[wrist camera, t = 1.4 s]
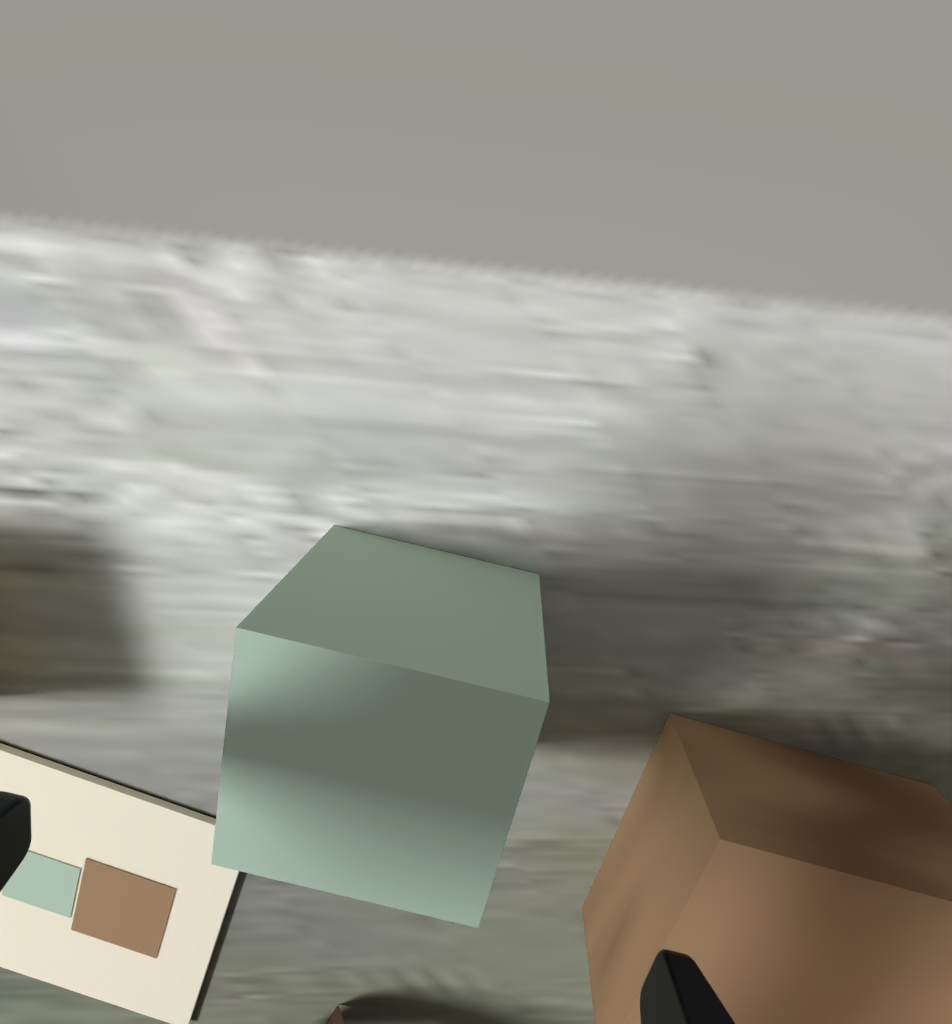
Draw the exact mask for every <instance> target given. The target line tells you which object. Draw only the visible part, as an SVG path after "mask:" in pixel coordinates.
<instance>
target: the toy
mask: <svg viewBox="0 0 952 1024" xmlns="http://www.w3.org/2000/svg"><path fill="white" fill-rule="evenodd" d="M326 1024H345V1023H344V1020H343V1017H342V1014H341V1012H340V1009H339V1006H337V1007H336V1009H335V1010H334V1012H333V1014H332V1015H331V1017H330V1018H329V1020H328V1022H327V1023H326Z"/></svg>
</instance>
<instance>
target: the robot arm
mask: <svg viewBox="0 0 952 1024" xmlns="http://www.w3.org/2000/svg"><path fill="white" fill-rule="evenodd" d="M31 838H32V834H31V803H30V800H29V799H28V798H27V797H26V796H22V795H18V794H14V793H10V792H6V791H0V892H1V890H2V889H3V888H4V886H5V885H6V883H7V882H8V881H9V879H10V878H11V876H12V875H13V874H14V872H15V871H16V869H17V868H18V867H19V865H20V864H21V862H22V861H23V859H24V858H25V856H26V854H27V852H28V850H29V847H30V844H31ZM640 1018H641V1024H735V1022H734V1021H733V1019H732V1018H731V1016H730V1015H729V1013H728V1011H727V1010H726V1008H725V1007H724V1005H723V1004H722V1002H721V1001H720V999H719V998H718V996H717V995H716V993H715V991H714V990H713V988H712V987H711V985H710V984H709V982H708V981H707V979H706V978H705V976H704V975H703V973H702V971H701V970H700V968H699V967H698V965H697V964H696V962H695V961H694V960H693V959H692V958H691V957H690V956H689V955H687V954H684V953H680V952H676V951H672V950H667V949H662V950H660V951H659V952H658V953H657V955H656V957H655V959H654V961H653V964H652V966H651V968H650V970H649V972H648V975H647V977H646V979H645V981H644V983H643V986H642V989H641V994H640Z"/></svg>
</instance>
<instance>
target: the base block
mask: <svg viewBox="0 0 952 1024" xmlns="http://www.w3.org/2000/svg"><path fill="white" fill-rule="evenodd" d="M582 911H583V920H584V929H585V937H586V946H587V955H588V964H589V973H590V982H591V990H592V999H593V1008H594V1017H595V1024H641V1018H640V994H641V989H642V986H643V983H644V981H645V979H646V977H647V975H648V972H649V970H650V968H651V966H652V964H653V961H654V959H655V957H656V955H657V953H658V952H659V951H660V950H662V949H667V950H672V951H676V952H680V953H684V954H687V955H689V956H690V957H691V958H692V959H693V960H694V961H695V962H696V964H697V965H698V967H699V968H700V970H701V971H702V973H703V975H704V976H705V978H706V979H707V981H708V982H709V984H710V985H711V987H712V988H713V990H714V991H715V993H716V995H717V996H718V998H719V999H720V1001H721V1002H722V1004H723V1005H724V1007H725V1008H726V1010H727V1011H728V1013H729V1015H730V1016H731V1018H732V1019H733V1021H734V1022H735V1024H952V805H951V804H950V803H949V802H948V801H947V800H946V799H945V798H944V796H943V795H942V794H941V793H940V792H939V791H938V790H937V789H936V788H935V787H934V786H933V785H929V784H926V783H922V782H918V781H915V780H911V779H907V778H904V777H900V776H896V775H893V774H889V773H885V772H882V771H878V770H875V769H871V768H867V767H864V766H860V765H856V764H853V763H849V762H845V761H842V760H838V759H835V758H831V757H827V756H824V755H820V754H816V753H813V752H809V751H805V750H802V749H798V748H794V747H791V746H787V745H784V744H780V743H776V742H773V741H769V740H765V739H762V738H758V737H754V736H751V735H747V734H743V733H740V732H736V731H733V730H729V729H725V728H722V727H718V726H714V725H711V724H707V723H703V722H700V721H696V720H692V719H689V718H685V717H682V716H678V715H674V714H671V713H670V714H669V716H668V718H667V720H666V723H665V725H664V727H663V729H662V732H661V734H660V736H659V738H658V740H657V743H656V745H655V747H654V749H653V752H652V754H651V756H650V758H649V760H648V763H647V765H646V767H645V769H644V772H643V774H642V776H641V778H640V780H639V783H638V785H637V787H636V789H635V792H634V794H633V796H632V798H631V800H630V803H629V805H628V807H627V809H626V811H625V814H624V816H623V818H622V820H621V823H620V825H619V827H618V829H617V831H616V834H615V836H614V838H613V840H612V843H611V845H610V847H609V849H608V851H607V854H606V856H605V858H604V860H603V863H602V865H601V867H600V869H599V871H598V874H597V876H596V878H595V880H594V883H593V885H592V887H591V889H590V891H589V894H588V896H587V898H586V900H585V903H584V905H583V907H582Z"/></svg>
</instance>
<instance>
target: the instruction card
mask: <svg viewBox="0 0 952 1024" xmlns="http://www.w3.org/2000/svg"><path fill="white" fill-rule="evenodd" d="M0 791H6V792H10V793H14V794H18V795H22V796H26V797H27V798H28V799H29V800H30V803H31V834H32V838H31V844H30V847H29V850H28V852H27V854H26V856H25V858H24V859H23V861H22V862H21V864H20V865H19V867H18V868H17V869H16V871H15V872H14V874H13V875H12V876H11V878H10V879H9V881H8V882H7V883H6V885H5V886H4V888H3V889H2V890H1V892H0V967H3V968H6V969H9V970H12V971H15V972H18V973H21V974H24V975H27V976H30V977H33V978H36V979H39V980H42V981H45V982H48V983H51V984H54V985H57V986H60V987H63V988H66V989H69V990H72V991H75V992H78V993H81V994H84V995H87V996H90V997H93V998H96V999H99V1000H102V1001H105V1002H108V1003H111V1004H114V1005H117V1006H120V1007H123V1008H126V1009H129V1010H132V1011H135V1012H138V1013H141V1014H144V1015H147V1016H150V1017H153V1018H156V1019H159V1020H162V1021H165V1022H168V1023H171V1024H189V1023H190V1021H191V1018H192V1015H193V1011H194V1008H195V1005H196V1002H197V999H198V996H199V993H200V990H201V987H202V984H203V981H204V978H205V975H206V972H207V969H208V966H209V963H210V960H211V957H212V954H213V951H214V948H215V945H216V942H217V939H218V936H219V933H220V930H221V927H222V923H223V920H224V917H225V914H226V911H227V908H228V905H229V902H230V899H231V896H232V893H233V890H234V887H235V884H236V881H237V878H238V875H239V872H240V871H237V870H233V869H229V868H224V867H220V866H216V865H212V864H211V861H212V851H213V842H214V833H215V823H216V819H215V818H212V817H209V816H206V815H204V814H201V813H198V812H195V811H192V810H189V809H186V808H184V807H181V806H178V805H175V804H172V803H169V802H167V801H164V800H161V799H158V798H155V797H152V796H149V795H147V794H144V793H141V792H138V791H135V790H132V789H130V788H127V787H124V786H121V785H118V784H115V783H112V782H110V781H107V780H104V779H101V778H98V777H95V776H93V775H90V774H87V773H84V772H81V771H78V770H75V769H73V768H70V767H67V766H64V765H61V764H58V763H55V762H53V761H50V760H47V759H44V758H41V757H38V756H36V755H33V754H30V753H27V752H24V751H21V750H18V749H16V748H13V747H10V746H7V745H4V744H1V743H0Z"/></svg>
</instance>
